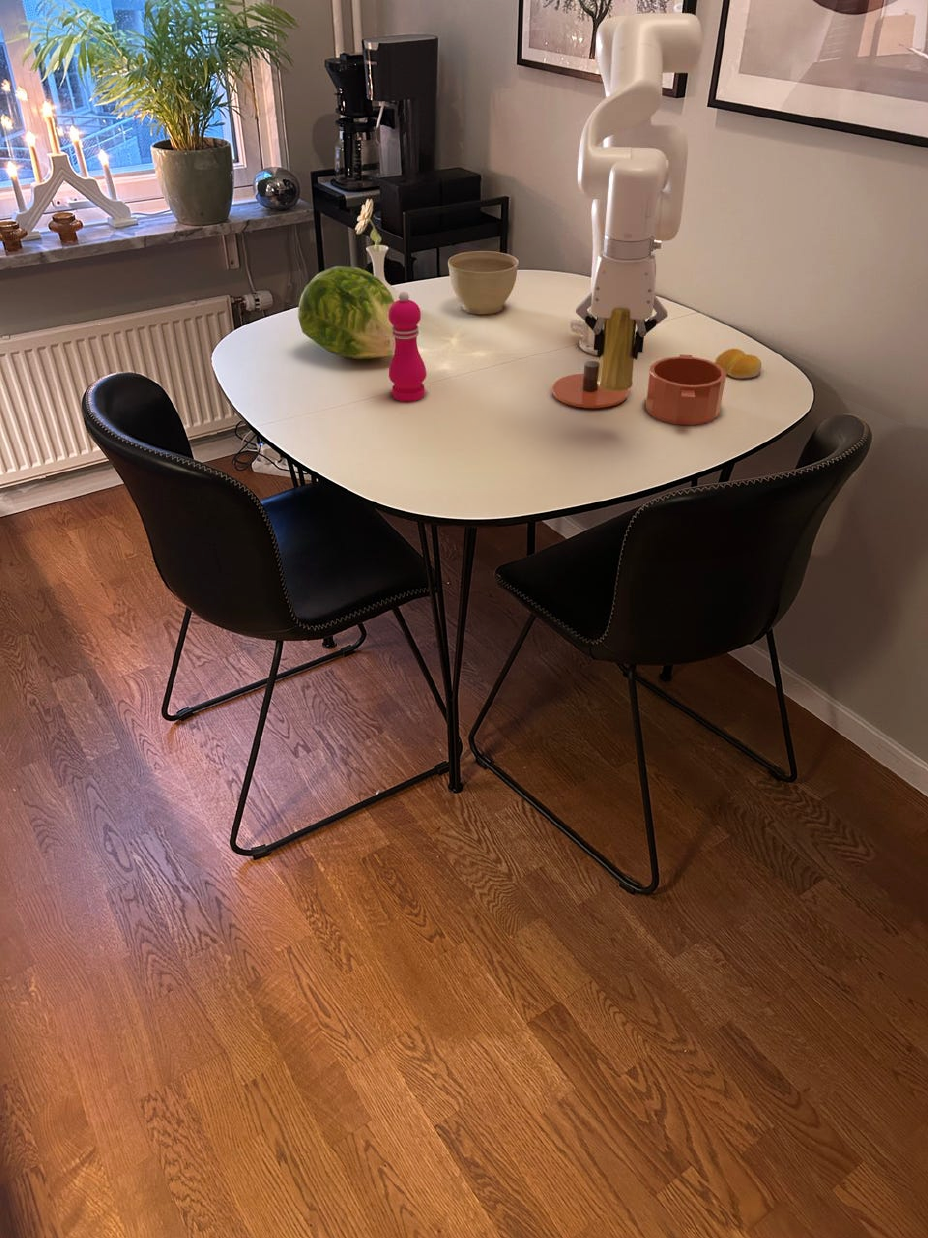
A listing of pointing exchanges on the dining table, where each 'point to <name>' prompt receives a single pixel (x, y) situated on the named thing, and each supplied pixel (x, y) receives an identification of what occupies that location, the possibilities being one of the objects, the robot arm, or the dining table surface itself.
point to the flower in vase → (375, 247)
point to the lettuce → (348, 313)
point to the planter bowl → (483, 279)
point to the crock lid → (586, 389)
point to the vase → (617, 351)
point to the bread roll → (739, 364)
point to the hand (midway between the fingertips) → (617, 353)
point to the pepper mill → (406, 351)
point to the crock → (685, 390)
